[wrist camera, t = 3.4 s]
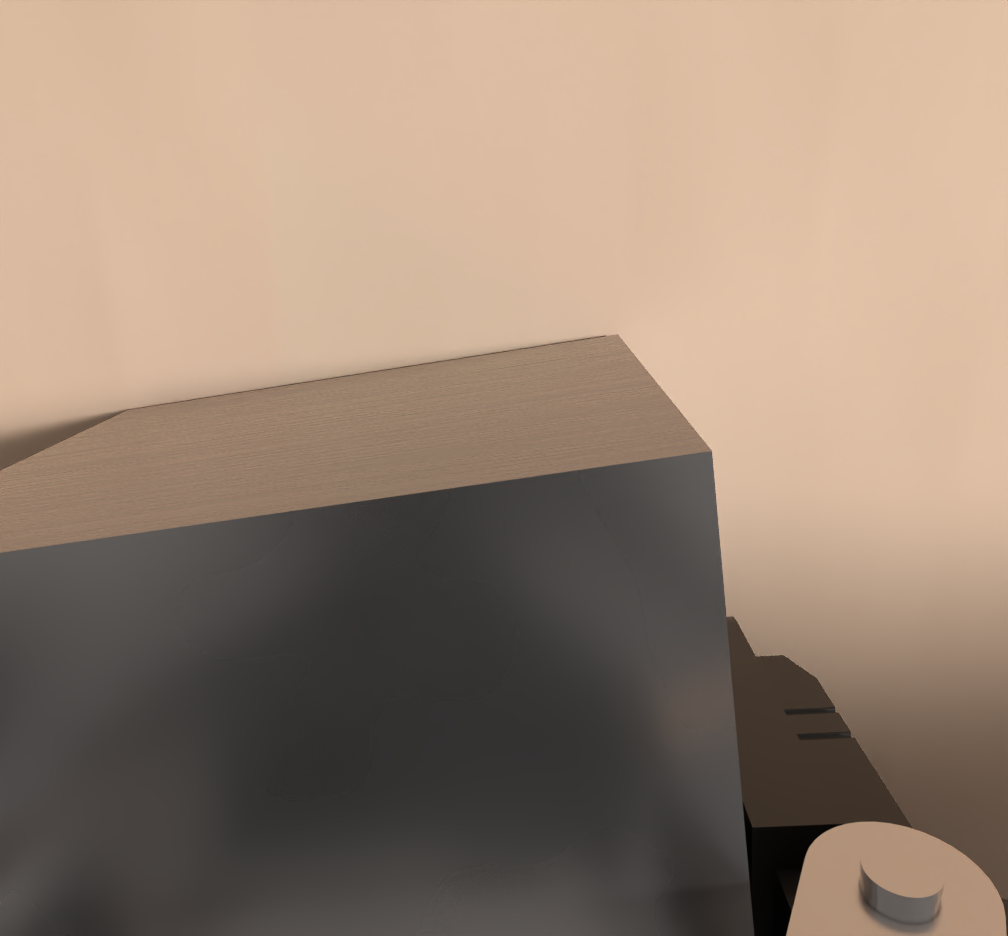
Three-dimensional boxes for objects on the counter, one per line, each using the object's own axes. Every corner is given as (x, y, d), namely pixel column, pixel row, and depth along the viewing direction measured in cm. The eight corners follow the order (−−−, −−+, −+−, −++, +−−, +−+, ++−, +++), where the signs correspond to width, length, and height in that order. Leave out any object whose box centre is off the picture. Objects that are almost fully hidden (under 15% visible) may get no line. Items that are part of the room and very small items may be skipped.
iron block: (617, 334, 9) (711, 450, 5) (681, 881, 12) (790, 1336, 7) (128, 409, 10) (-248, 588, 5) (281, 924, 12) (121, 1381, 7)
